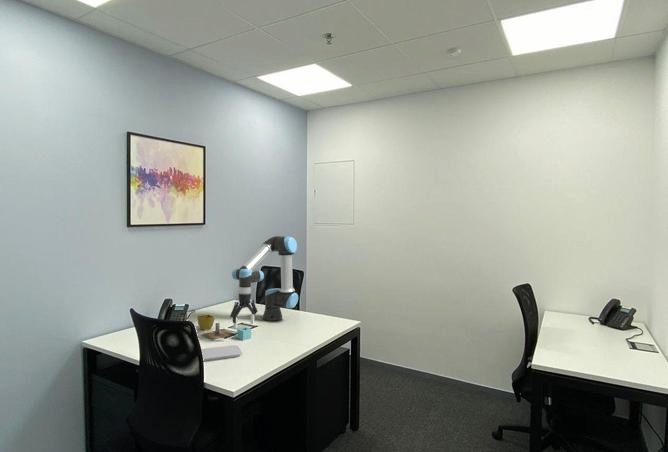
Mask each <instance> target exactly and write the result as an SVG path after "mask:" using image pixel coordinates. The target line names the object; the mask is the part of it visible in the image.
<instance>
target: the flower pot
mask: <svg viewBox="0 0 668 452" xmlns="http://www.w3.org/2000/svg"><path fill="white" fill-rule="evenodd" d="M214 321H215V316H214V315H211V314H209V313H207V314H201V315H197V325H198V327H199V328H200V330H202V331H208V330H211V329H212V327H213V325H214Z"/></svg>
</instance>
